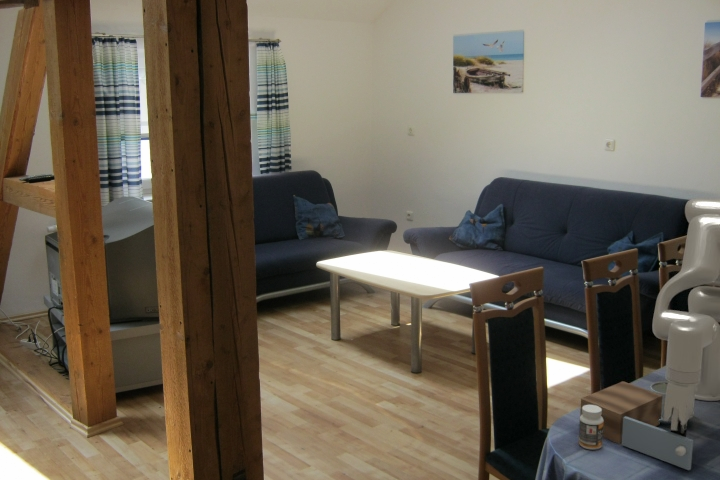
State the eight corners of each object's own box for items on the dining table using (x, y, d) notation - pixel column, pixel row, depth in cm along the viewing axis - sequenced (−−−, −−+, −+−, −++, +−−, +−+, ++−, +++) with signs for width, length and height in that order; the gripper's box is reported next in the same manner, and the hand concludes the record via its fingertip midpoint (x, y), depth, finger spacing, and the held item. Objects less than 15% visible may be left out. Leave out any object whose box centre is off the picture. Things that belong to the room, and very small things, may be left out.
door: (618, 446, 184) (620, 419, 182) (623, 443, 185) (625, 416, 184) (685, 472, 171) (688, 443, 169) (690, 468, 173) (693, 439, 171)
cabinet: (621, 408, 206) (623, 381, 204) (660, 423, 196) (662, 395, 194) (579, 426, 195) (581, 398, 194) (618, 443, 186) (620, 414, 184)
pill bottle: (603, 451, 182) (605, 414, 180) (579, 449, 184) (581, 412, 181) (601, 440, 188) (602, 404, 186) (577, 438, 189) (579, 402, 187)
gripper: (674, 360, 181) (669, 429, 185) (657, 381, 170) (652, 454, 174) (707, 366, 177) (701, 437, 181) (692, 388, 165) (686, 463, 169)
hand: (677, 445), depth 177 cm, fingers closed
